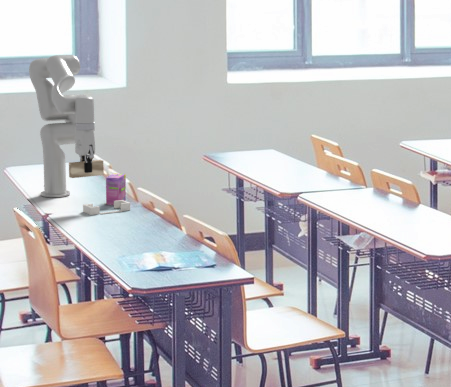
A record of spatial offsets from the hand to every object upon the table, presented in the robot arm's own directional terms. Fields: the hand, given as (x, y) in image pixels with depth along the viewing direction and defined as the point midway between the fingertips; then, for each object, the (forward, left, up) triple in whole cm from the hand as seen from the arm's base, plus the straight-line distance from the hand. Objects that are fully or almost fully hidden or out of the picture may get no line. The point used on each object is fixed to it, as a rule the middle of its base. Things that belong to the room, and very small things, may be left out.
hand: (86, 171), depth 415 cm
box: (-6, +16, -16) cm, 24 cm away
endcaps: (+7, +5, -16) cm, 18 cm away
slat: (0, 0, -2) cm, 2 cm away
